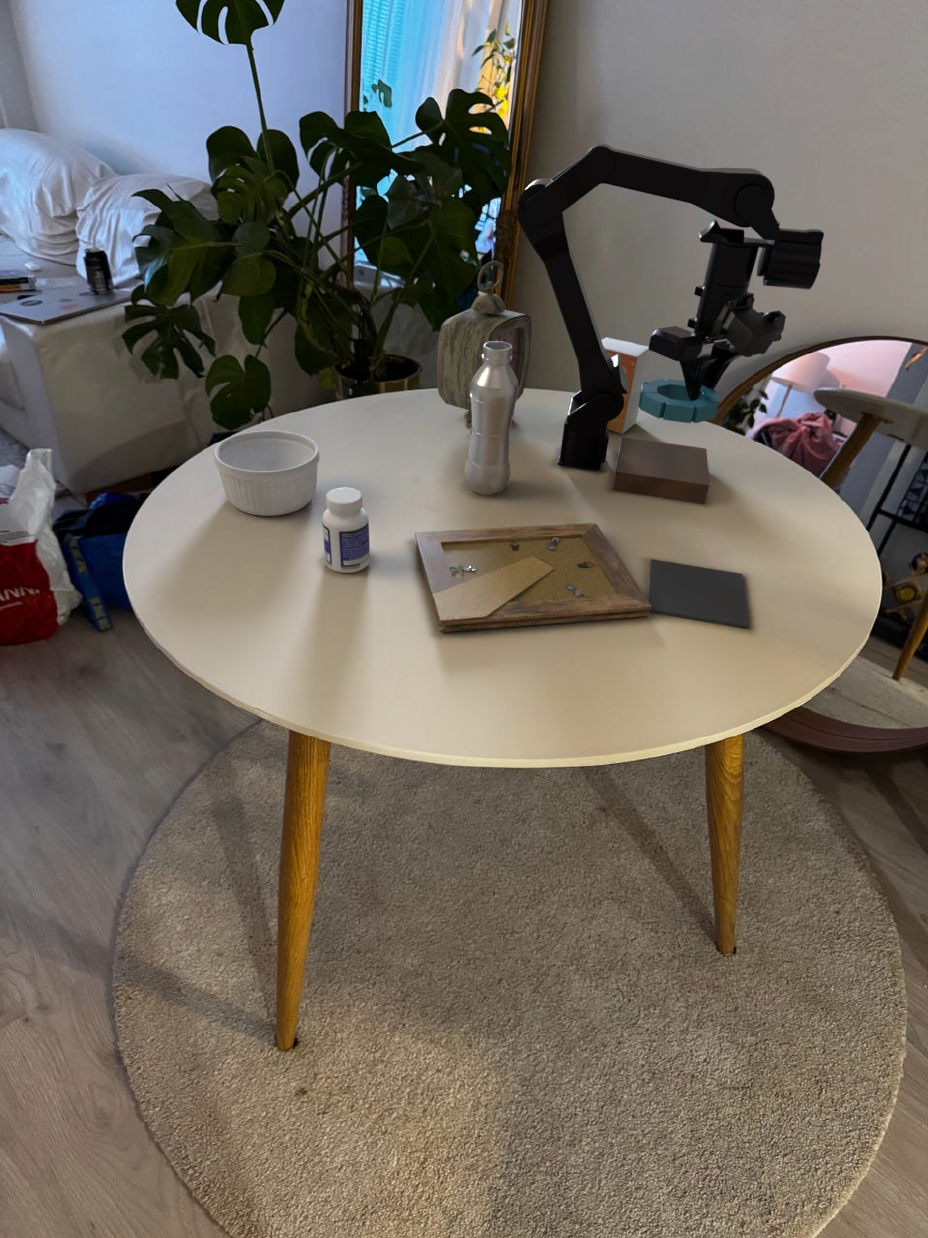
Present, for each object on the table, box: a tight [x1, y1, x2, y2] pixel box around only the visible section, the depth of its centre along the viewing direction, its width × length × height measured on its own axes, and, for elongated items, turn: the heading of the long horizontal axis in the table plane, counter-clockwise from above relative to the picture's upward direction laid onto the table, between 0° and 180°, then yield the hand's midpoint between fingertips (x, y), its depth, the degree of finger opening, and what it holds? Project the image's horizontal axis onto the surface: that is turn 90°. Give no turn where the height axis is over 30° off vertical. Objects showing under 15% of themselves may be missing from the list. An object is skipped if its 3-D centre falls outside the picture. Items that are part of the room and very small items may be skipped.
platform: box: [612, 436, 710, 505], centre depth 112 cm, size 13×13×3 cm
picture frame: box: [414, 522, 651, 633], centre depth 89 cm, size 19×2×24 cm
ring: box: [638, 378, 721, 424], centre depth 105 cm, size 11×11×2 cm
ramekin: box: [213, 429, 320, 517], centre depth 99 cm, size 13×13×7 cm
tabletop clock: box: [436, 260, 532, 436], centre depth 119 cm, size 14×9×25 cm, turn 147°
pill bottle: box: [321, 486, 371, 574], centre depth 87 cm, size 5×5×9 cm
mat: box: [648, 558, 750, 630], centre depth 88 cm, size 11×11×1 cm
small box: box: [601, 336, 652, 435], centre depth 125 cm, size 8×6×13 cm
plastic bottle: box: [463, 341, 519, 495], centre depth 101 cm, size 6×7×20 cm
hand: (698, 398), depth 108 cm, fingers closed on ring, 2 cm apart
